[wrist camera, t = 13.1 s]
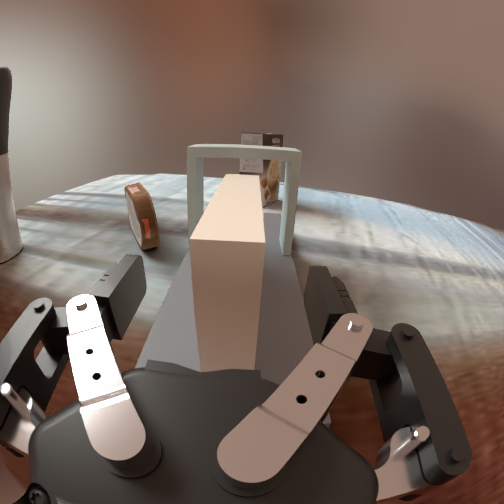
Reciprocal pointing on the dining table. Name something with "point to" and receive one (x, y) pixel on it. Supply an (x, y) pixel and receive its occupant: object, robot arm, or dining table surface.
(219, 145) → the tunnel
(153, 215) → the tin
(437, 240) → the dining table surface
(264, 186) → the coffee box
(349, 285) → the dining table surface
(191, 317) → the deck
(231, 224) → the block
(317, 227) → the dining table surface
